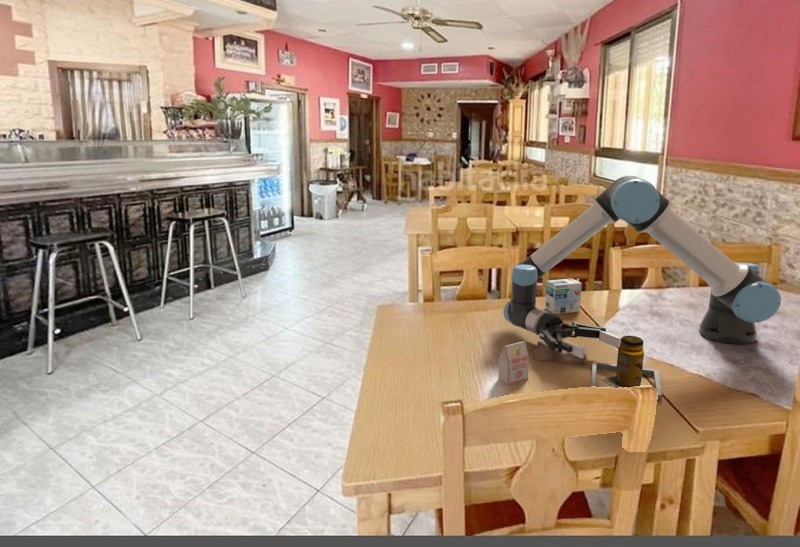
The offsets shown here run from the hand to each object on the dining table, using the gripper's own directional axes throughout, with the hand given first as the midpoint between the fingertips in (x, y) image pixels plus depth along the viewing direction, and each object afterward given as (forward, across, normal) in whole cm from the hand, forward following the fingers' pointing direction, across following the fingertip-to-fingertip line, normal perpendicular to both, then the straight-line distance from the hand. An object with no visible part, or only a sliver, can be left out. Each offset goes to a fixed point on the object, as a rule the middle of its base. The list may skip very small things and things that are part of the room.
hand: (601, 348), depth 142 cm
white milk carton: (-8, +22, -7) cm, 25 cm away
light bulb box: (-43, -29, -7) cm, 53 cm away
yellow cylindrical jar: (+8, 0, -7) cm, 10 cm away
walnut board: (-14, 0, -7) cm, 16 cm away
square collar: (+8, 0, -7) cm, 10 cm away
